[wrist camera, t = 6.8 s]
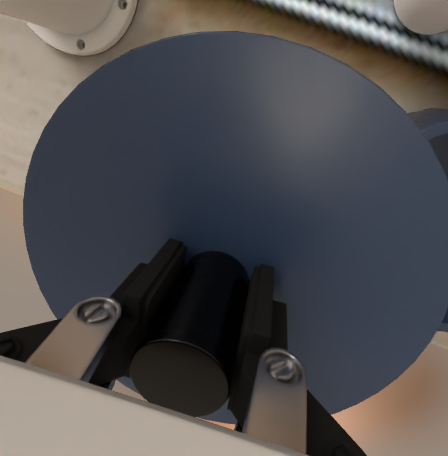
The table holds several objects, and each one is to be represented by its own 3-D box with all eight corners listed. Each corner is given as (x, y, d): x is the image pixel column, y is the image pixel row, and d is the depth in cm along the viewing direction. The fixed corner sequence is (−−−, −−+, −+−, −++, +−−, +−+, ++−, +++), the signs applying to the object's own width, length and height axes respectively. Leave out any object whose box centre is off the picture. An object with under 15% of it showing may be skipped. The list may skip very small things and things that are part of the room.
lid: (47, 350, 18) (-58, 462, 12) (29, -11, 11) (-251, -136, 5) (342, 444, 16) (373, 619, 11) (557, 104, 9) (978, 106, 4)
